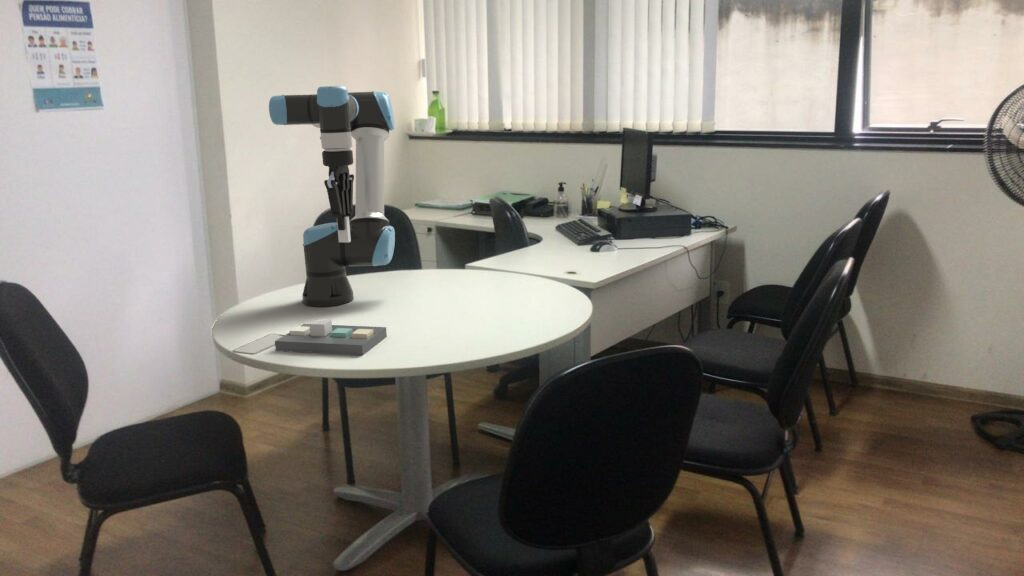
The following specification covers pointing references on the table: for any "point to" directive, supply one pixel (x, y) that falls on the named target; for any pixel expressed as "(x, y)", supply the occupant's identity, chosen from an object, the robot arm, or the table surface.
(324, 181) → the robot arm
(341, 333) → the key
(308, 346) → the keypad
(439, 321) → the table surface
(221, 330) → the table surface
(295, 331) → the key
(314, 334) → the key
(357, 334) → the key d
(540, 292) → the table surface
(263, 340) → the smartphone
